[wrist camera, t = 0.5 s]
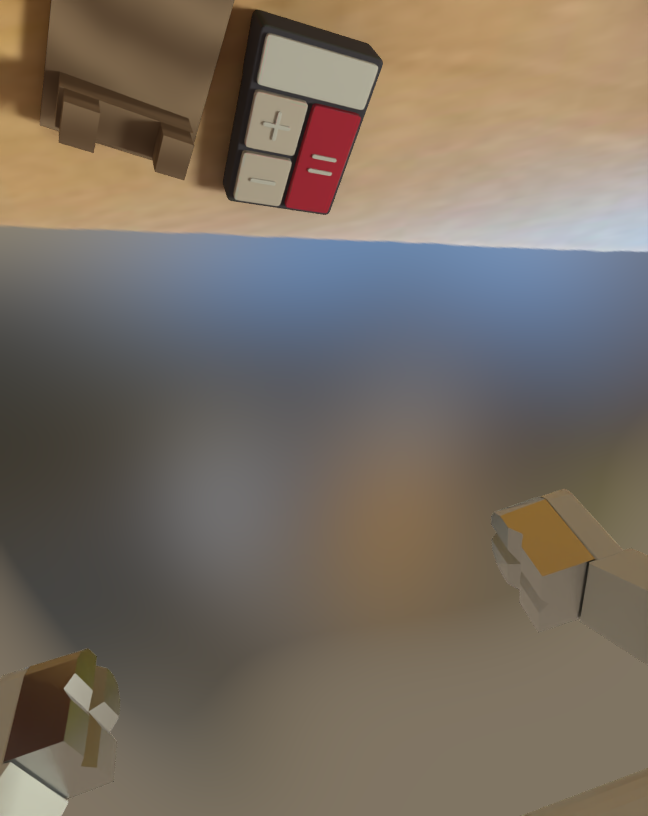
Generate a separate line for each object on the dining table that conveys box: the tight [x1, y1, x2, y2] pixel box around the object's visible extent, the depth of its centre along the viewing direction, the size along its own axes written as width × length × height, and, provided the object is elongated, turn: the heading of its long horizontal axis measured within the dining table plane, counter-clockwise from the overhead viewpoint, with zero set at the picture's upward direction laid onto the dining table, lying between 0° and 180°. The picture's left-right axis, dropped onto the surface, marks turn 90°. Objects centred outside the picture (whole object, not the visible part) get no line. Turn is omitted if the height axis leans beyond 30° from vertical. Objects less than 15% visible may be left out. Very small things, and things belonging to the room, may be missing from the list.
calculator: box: [223, 10, 383, 215], centre depth 49 cm, size 11×4×15 cm
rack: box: [40, 0, 234, 180], centre depth 38 cm, size 20×12×7 cm, turn 153°
